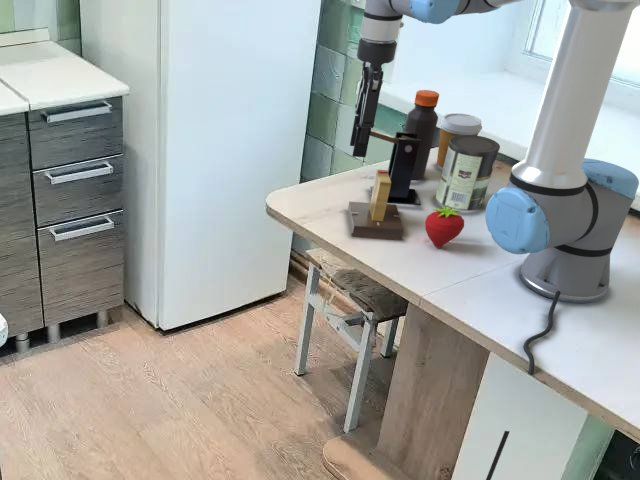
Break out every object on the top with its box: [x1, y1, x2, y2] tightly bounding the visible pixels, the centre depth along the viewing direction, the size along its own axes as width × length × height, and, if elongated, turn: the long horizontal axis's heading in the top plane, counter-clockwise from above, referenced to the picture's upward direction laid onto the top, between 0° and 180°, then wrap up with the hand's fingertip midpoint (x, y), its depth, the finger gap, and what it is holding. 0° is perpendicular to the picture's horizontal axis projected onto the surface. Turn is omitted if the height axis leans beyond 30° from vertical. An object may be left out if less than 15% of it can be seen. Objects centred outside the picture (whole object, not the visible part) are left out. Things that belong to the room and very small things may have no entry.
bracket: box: [369, 130, 421, 206], centre depth 176 cm, size 10×8×15 cm
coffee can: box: [435, 135, 501, 211], centre depth 175 cm, size 10×10×14 cm
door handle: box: [356, 122, 413, 144], centre depth 172 cm, size 13×6×2 cm, turn 83°
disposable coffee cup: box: [436, 112, 483, 169], centre depth 192 cm, size 10×10×12 cm
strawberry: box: [424, 204, 465, 249], centre depth 159 cm, size 6×8×10 cm
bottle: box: [403, 89, 440, 182], centre depth 184 cm, size 7×7×20 cm
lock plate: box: [347, 201, 405, 241], centre depth 169 cm, size 12×10×3 cm
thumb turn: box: [369, 169, 391, 221], centre depth 166 cm, size 6×2×9 cm, turn 173°
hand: (357, 150), depth 175 cm, fingers closed on door handle, 5 cm apart
